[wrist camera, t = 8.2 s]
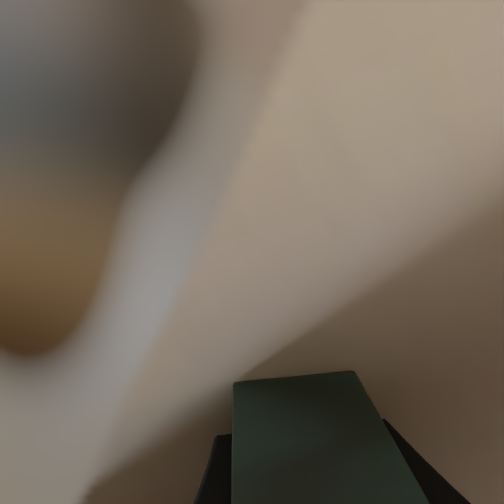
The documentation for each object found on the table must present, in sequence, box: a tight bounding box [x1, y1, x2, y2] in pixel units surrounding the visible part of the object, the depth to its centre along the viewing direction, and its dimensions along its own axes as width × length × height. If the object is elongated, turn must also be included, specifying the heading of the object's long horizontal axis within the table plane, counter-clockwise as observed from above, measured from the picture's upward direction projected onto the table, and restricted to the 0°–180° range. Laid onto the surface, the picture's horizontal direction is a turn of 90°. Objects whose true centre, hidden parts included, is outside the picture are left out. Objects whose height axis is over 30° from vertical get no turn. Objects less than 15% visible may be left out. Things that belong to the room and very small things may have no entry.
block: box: [231, 371, 430, 504], centre depth 8 cm, size 4×4×5 cm
